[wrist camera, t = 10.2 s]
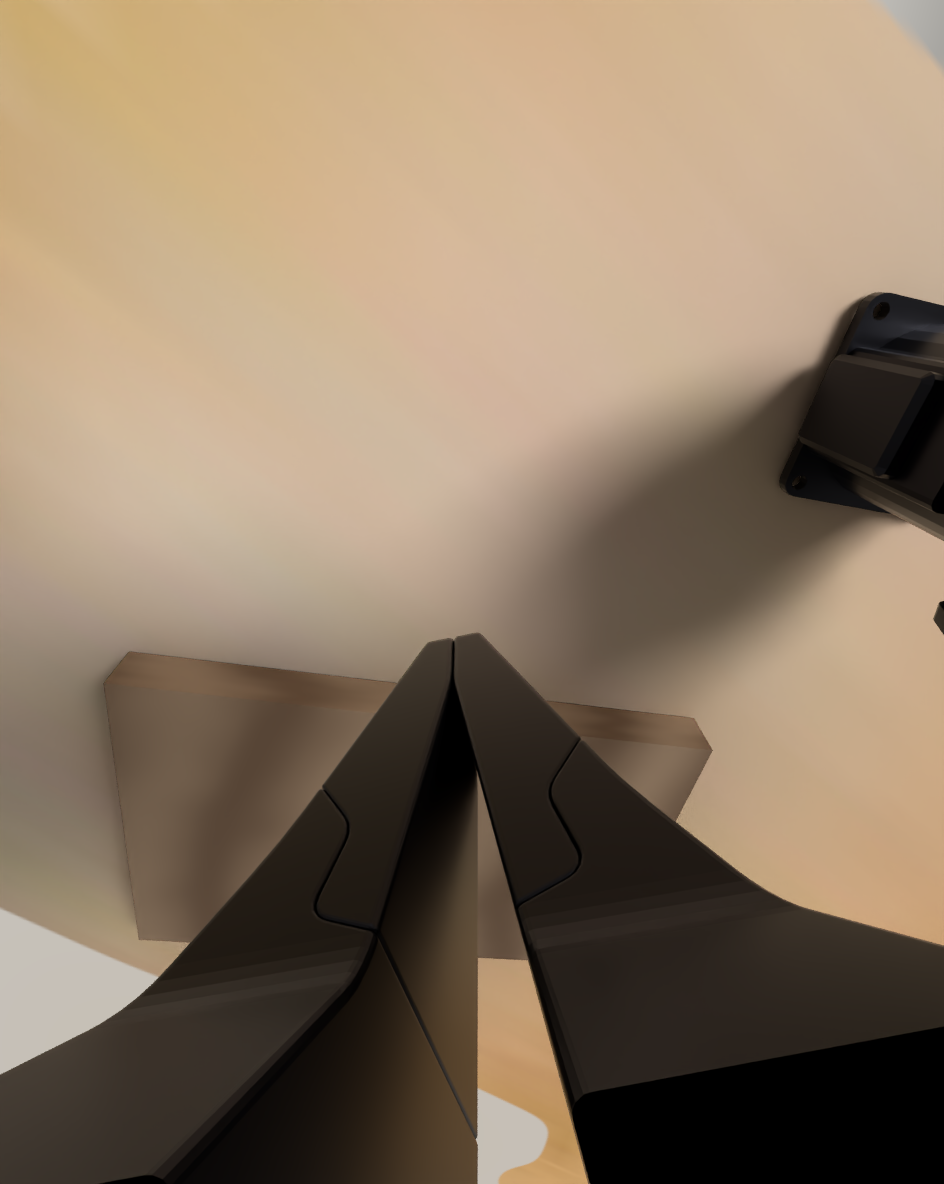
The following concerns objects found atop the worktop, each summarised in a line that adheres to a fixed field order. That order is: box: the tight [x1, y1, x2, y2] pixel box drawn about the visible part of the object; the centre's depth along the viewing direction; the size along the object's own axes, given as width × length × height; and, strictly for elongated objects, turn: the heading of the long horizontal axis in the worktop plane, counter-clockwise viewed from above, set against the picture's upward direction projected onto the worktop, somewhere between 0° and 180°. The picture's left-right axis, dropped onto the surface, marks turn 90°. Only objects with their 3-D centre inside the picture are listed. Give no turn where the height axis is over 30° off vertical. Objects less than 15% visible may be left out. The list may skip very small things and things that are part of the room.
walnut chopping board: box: [104, 652, 713, 960], centre depth 27 cm, size 24×16×2 cm, turn 79°
